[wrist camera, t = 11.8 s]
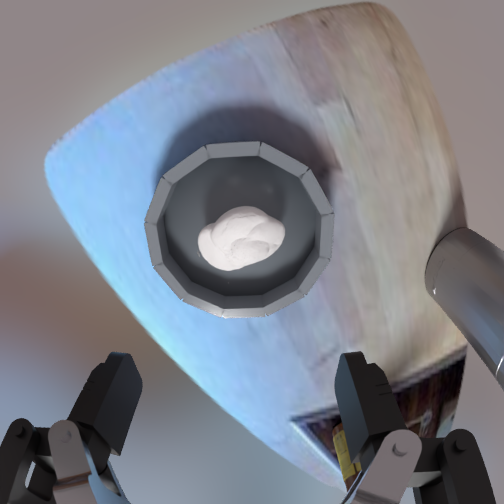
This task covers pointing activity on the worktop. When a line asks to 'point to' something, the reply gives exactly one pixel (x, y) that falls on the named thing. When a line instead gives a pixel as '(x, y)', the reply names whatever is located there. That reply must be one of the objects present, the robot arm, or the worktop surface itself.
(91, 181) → the worktop surface
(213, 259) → the dumpling
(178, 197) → the round dish
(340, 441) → the sauce bottle
